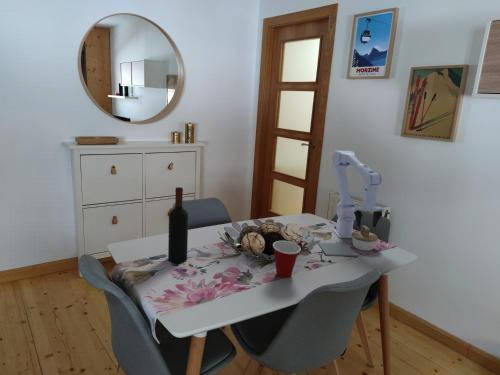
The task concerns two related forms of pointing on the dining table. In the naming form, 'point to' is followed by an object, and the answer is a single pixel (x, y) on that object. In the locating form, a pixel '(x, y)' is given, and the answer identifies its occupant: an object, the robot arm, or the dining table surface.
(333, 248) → the mat
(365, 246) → the ramekin
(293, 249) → the plastic cup
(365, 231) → the lid
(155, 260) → the dining table surface
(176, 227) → the wine bottle
